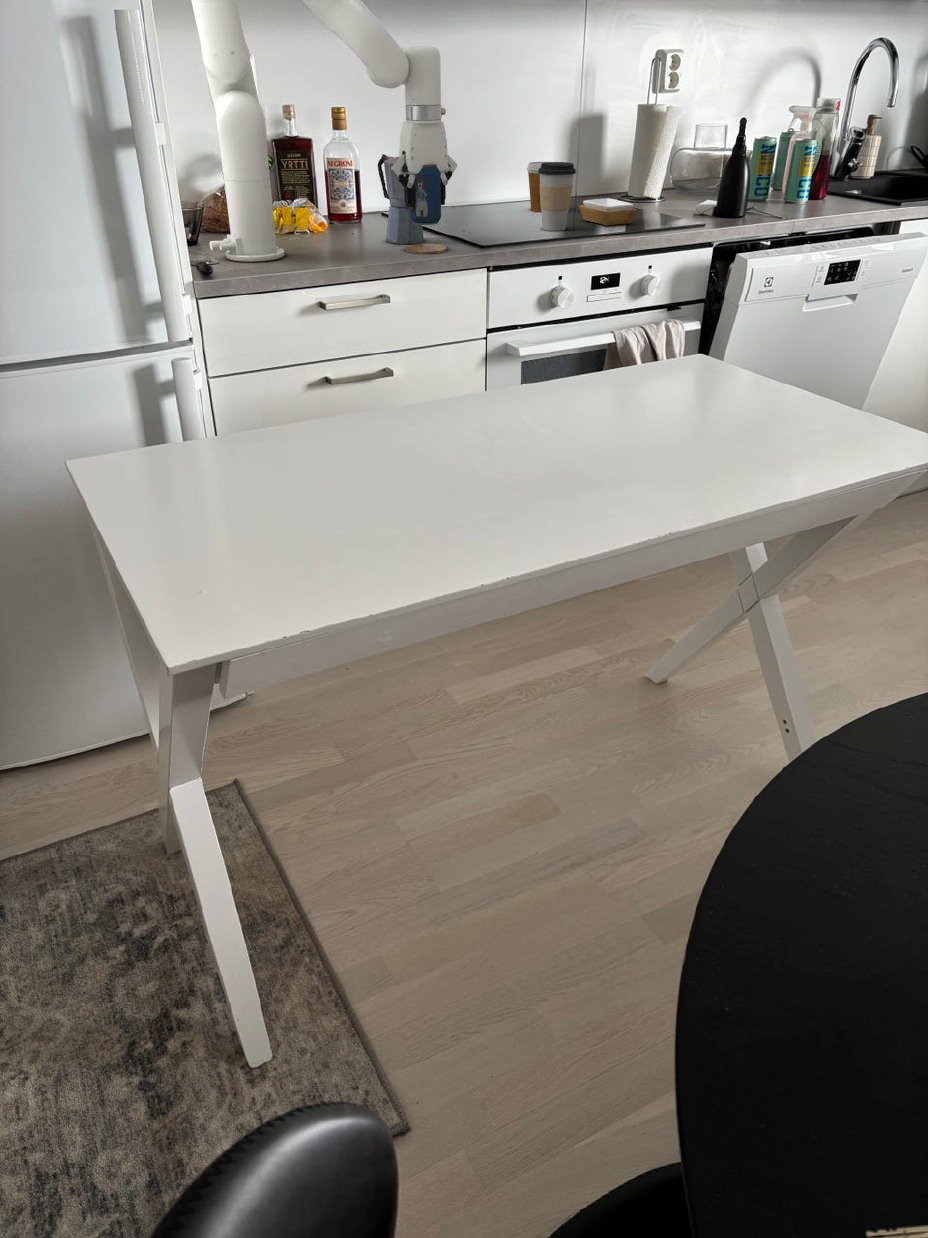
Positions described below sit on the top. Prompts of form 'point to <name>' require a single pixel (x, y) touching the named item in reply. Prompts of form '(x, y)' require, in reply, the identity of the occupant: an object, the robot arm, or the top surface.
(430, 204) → the soda can
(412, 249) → the coaster
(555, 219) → the coffee cup
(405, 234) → the moka pot
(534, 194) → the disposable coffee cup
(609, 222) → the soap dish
